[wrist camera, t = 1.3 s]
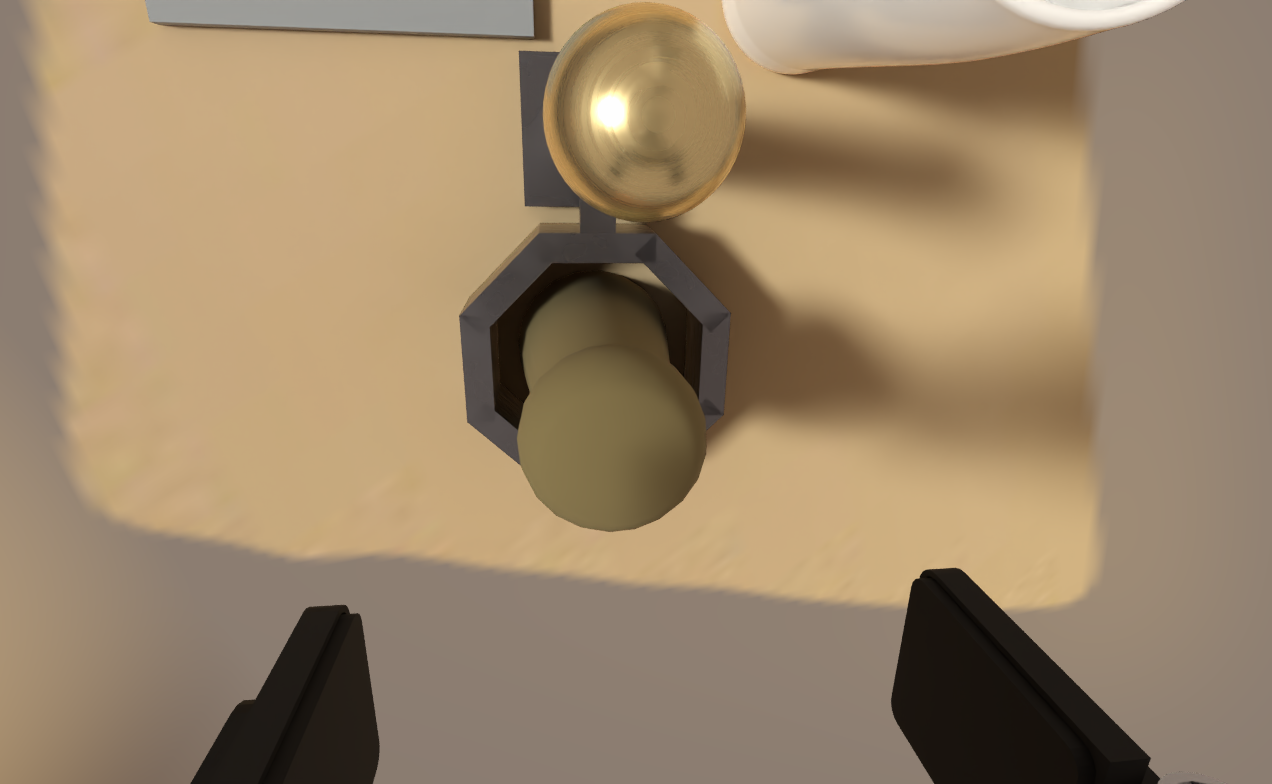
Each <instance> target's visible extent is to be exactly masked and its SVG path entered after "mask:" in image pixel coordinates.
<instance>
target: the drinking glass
mask: <svg viewBox="0 0 1272 784" xmlns="http://www.w3.org/2000/svg"><path fill="white" fill-rule="evenodd" d="M1184 1H1186V0H722V7H723V13H724V17H725V20H726V24H727V26H728V29H729V31H730V33H731V35H732V37H733V39H734V41H735V42H736V44H737V45H738V47H739V48H740V49H741V50H742V52H743V53H744V54H745V55H746V56H747V57H748V58H750V59H751V60H752V61H753V62H755V63H756V64H758V65H759V66H761V67H763V68H765V69H767V70H770V71H773V72H777V73H781V74H804V73H809V72H813V71H817V70H820V69H837V68H859V67H888V66H918V65H937V64H949V63H960V62H970V61H977V60H984V59H990V58H996V57H1002V56H1007V55H1012V54H1016V53H1021V52H1026V51H1031V50H1036V49H1040V48H1044V47H1049V46H1053V45H1057V44H1061V43H1065V42H1068V41H1072V40H1076V39H1079V38H1083V37H1087V36H1090V35H1094V34H1097V33H1101V32H1104V31H1107V30H1111V29H1114V28H1119V27H1124V26H1128V25H1131V24H1134V23H1137V22H1140V21H1143V20H1147V19H1149V18H1151V17H1153V16H1156V15H1158V14H1161V13H1163V12H1165V11H1167V10H1169V9H1171V8H1173V7H1175V6H1177V5H1178V4H1180V3H1182V2H1184Z"/></svg>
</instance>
